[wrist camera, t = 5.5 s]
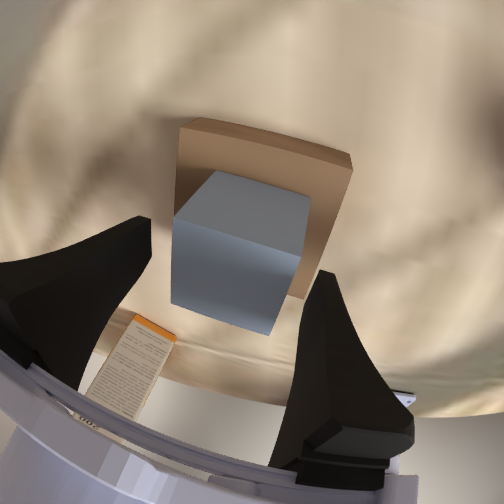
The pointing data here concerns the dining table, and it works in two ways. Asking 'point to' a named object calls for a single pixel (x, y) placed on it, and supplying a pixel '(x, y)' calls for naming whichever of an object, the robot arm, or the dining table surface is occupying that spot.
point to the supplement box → (130, 371)
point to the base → (268, 176)
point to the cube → (237, 250)
